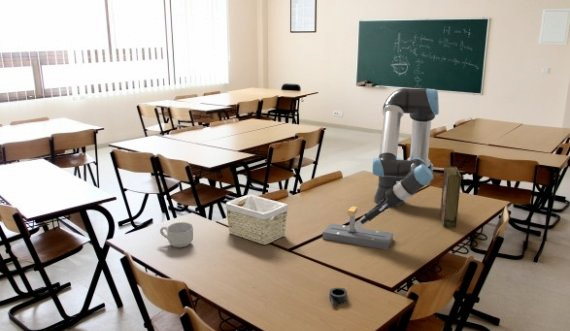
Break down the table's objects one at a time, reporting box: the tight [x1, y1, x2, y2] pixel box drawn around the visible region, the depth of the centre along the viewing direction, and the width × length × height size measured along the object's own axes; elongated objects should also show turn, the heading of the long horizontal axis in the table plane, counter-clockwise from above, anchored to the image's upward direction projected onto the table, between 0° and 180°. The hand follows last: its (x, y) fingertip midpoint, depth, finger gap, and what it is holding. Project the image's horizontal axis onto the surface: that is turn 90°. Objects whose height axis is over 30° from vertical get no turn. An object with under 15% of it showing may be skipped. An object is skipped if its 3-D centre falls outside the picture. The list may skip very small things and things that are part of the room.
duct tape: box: [328, 287, 348, 307], centre depth 157 cm, size 8×10×3 cm
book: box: [439, 165, 462, 229], centre depth 221 cm, size 16×6×25 cm, turn 168°
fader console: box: [322, 223, 394, 250], centre depth 204 cm, size 28×11×3 cm, turn 67°
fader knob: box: [347, 206, 359, 232], centre depth 204 cm, size 3×6×10 cm, turn 157°
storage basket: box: [225, 193, 289, 245], centre depth 208 cm, size 24×16×15 cm
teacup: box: [159, 221, 194, 249], centre depth 198 cm, size 14×11×8 cm
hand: (356, 225), depth 203 cm, fingers closed
